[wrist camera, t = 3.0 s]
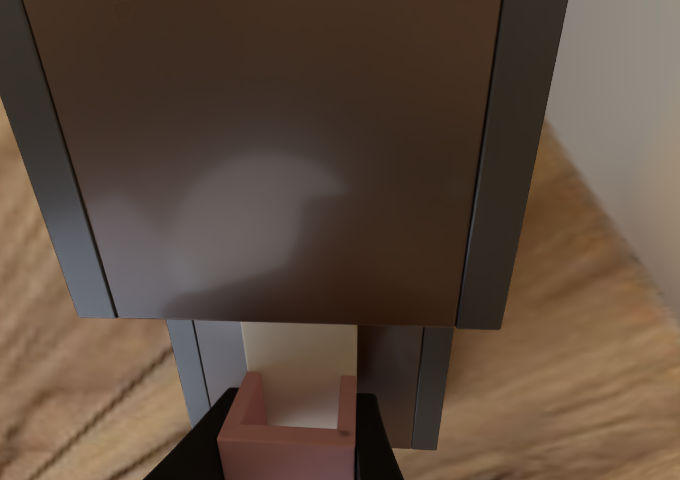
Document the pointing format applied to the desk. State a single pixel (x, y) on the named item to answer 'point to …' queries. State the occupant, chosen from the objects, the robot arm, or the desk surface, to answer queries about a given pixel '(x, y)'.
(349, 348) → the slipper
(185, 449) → the robot arm
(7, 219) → the desk surface
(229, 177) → the dark stepped block
